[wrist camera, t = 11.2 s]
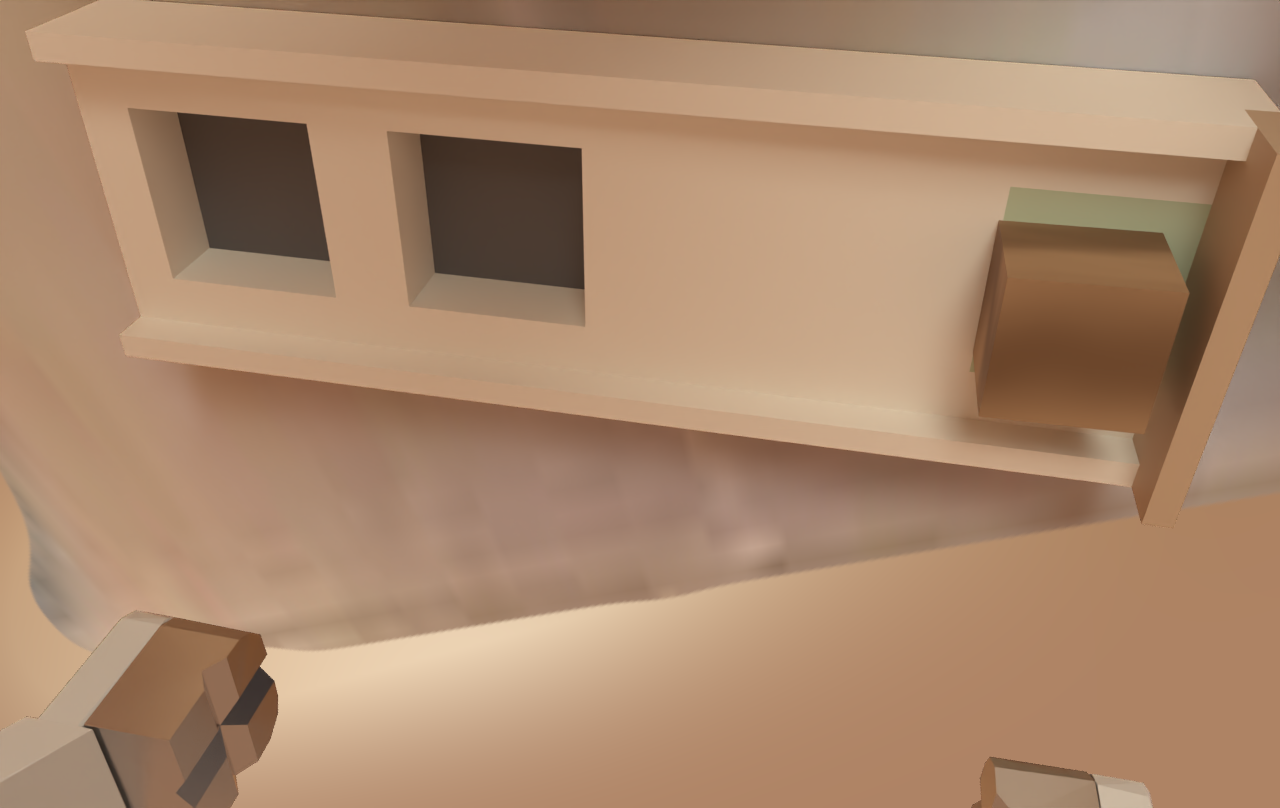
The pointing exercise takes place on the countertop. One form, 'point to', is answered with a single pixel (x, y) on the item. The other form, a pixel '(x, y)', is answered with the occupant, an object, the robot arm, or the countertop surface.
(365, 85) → the trap track
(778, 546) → the countertop surface
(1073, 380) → the walnut block
